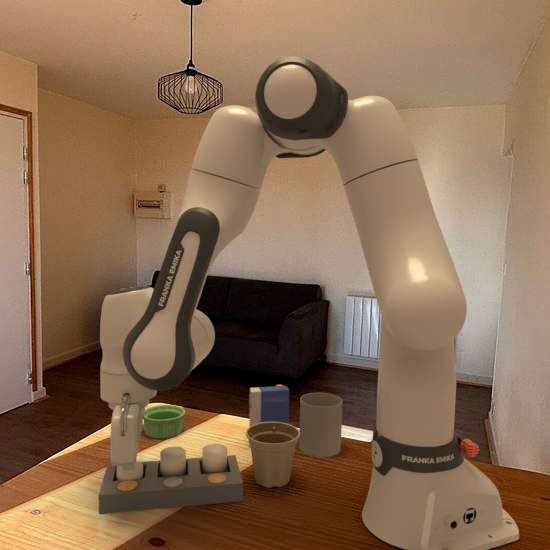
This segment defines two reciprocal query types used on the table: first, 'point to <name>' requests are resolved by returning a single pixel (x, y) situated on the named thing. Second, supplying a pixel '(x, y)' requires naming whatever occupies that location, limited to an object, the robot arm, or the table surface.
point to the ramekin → (163, 421)
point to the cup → (320, 424)
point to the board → (170, 488)
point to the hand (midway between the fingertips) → (129, 466)
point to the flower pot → (272, 452)
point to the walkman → (269, 404)
